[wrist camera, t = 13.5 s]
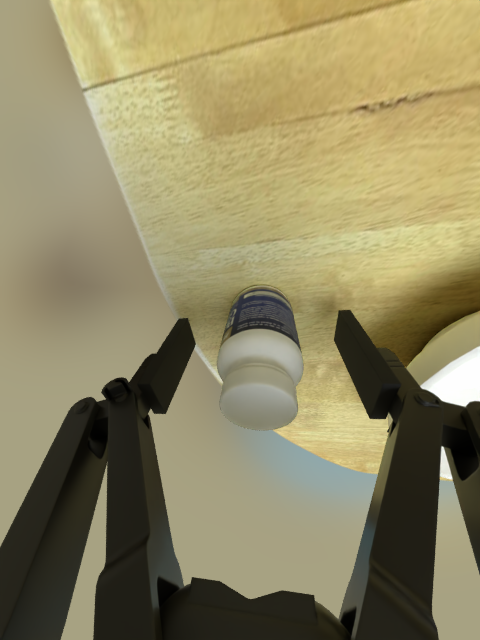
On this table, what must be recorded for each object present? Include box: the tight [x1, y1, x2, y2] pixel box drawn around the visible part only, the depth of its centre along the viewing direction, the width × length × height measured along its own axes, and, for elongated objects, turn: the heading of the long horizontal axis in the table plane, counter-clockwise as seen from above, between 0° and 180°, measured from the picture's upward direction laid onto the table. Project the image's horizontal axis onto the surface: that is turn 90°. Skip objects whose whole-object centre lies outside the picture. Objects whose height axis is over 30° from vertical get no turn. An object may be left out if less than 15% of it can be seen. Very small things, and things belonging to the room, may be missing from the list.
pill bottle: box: [217, 285, 303, 430], centre depth 14 cm, size 5×5×10 cm
